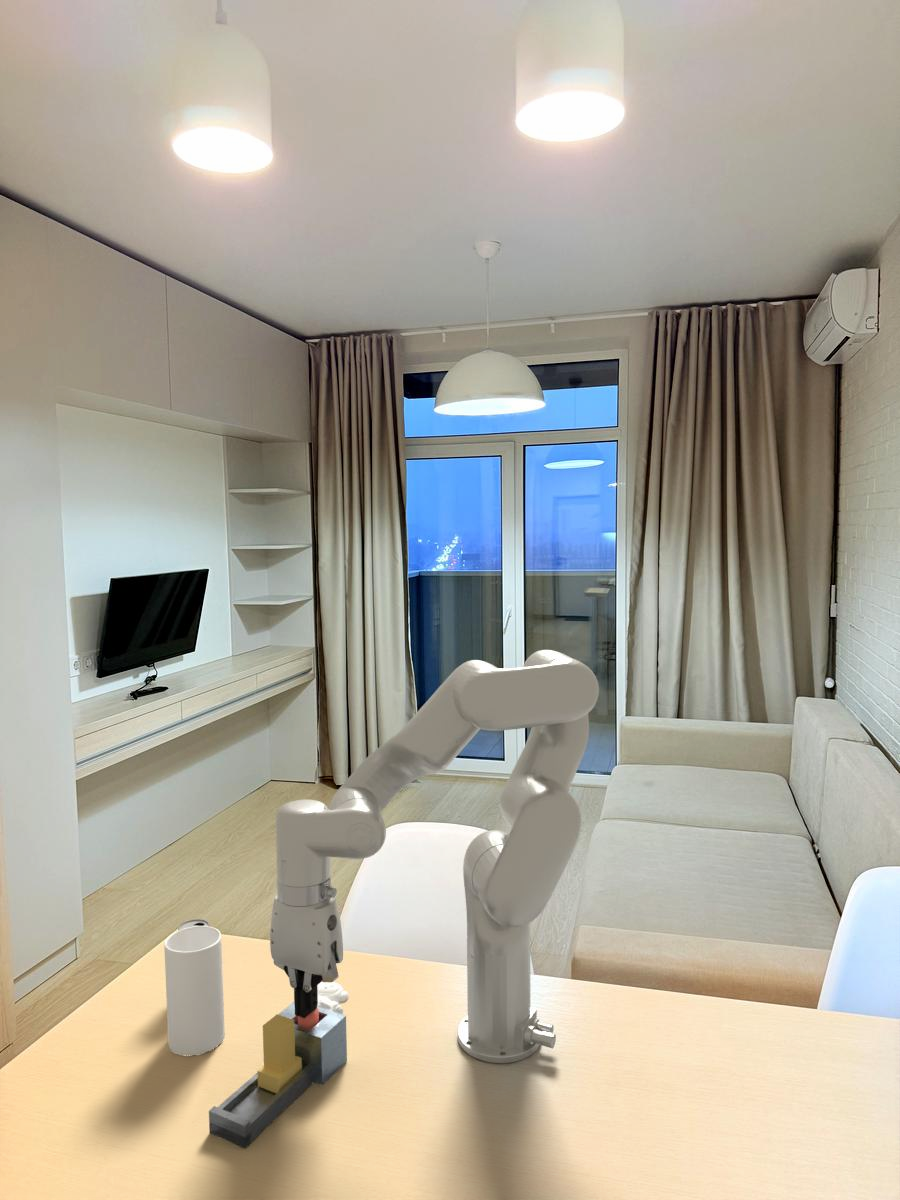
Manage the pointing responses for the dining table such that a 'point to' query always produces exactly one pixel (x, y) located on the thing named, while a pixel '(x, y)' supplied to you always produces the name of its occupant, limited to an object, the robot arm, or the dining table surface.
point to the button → (309, 1019)
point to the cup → (194, 990)
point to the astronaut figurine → (331, 996)
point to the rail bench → (260, 1107)
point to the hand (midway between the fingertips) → (306, 1011)
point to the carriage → (278, 1054)
